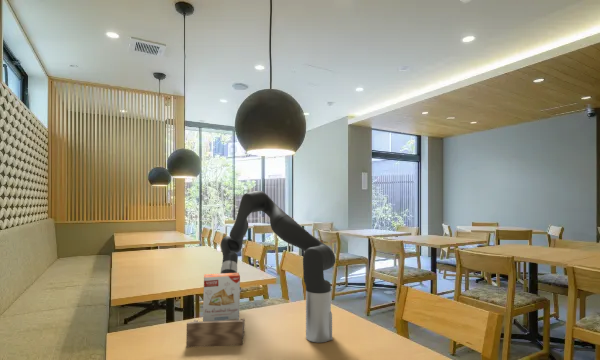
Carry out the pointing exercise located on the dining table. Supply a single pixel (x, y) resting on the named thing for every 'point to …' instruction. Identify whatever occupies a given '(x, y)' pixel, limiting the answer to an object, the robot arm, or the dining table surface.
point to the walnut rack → (215, 333)
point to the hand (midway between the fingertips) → (225, 308)
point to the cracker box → (221, 297)
